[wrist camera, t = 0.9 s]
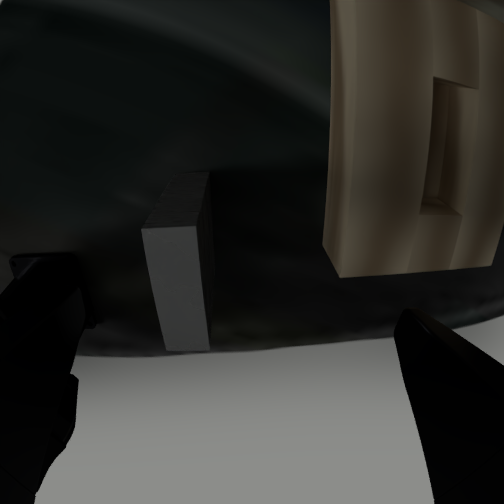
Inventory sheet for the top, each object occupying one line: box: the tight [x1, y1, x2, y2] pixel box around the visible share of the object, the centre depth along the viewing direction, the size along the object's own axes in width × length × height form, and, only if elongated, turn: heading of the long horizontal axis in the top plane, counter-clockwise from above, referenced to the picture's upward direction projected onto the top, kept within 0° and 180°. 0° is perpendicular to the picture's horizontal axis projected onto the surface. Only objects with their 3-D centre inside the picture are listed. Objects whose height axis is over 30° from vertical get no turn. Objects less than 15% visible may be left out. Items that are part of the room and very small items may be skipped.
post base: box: [322, 0, 504, 278], centre depth 12 cm, size 12×18×12 cm, turn 1°
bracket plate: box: [141, 172, 215, 351], centre depth 16 cm, size 2×6×8 cm, turn 0°
